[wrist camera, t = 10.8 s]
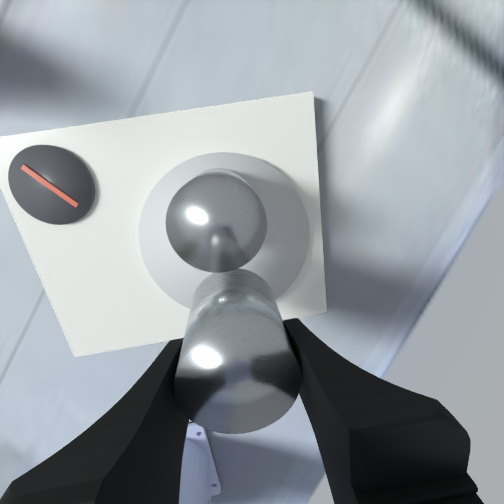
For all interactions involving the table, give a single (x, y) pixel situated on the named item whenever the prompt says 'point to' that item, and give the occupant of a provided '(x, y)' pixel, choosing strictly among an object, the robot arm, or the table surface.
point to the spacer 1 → (216, 221)
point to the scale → (161, 213)
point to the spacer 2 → (235, 356)
